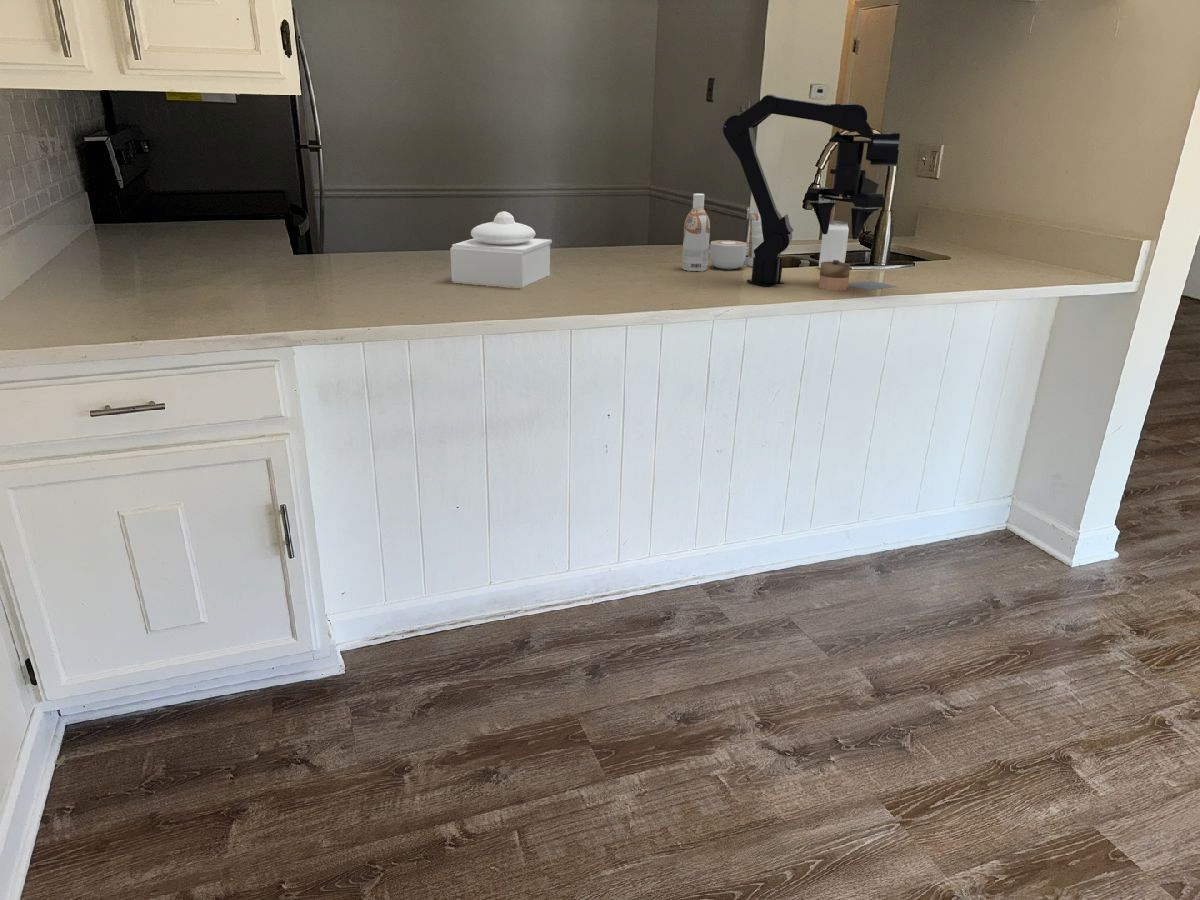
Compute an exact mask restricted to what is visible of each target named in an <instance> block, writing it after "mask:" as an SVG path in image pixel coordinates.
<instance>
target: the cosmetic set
mask: <svg viewBox="0 0 1200 900" xmlns="http://www.w3.org/2000/svg"><path fill="white" fill-rule="evenodd" d="M705 198H706V197H705V193H693V198H692V208H691V210H690V211H689V213H688V215H687V216H686V218H685V220H684V225H683V239H682V242H683V243H682V258H681V269H682V270H683V269H684V270H683V271H685V270H687V271H686V272H690V271H702V272H705V270H706V271H707V270H708V265H709V264H708V261H710V262H711V264H712V266H714V267H715V268H717V269H720V270H725V269H727V270H729V271H730V270H732V269H733V270H736V269H739V268H741V267H742V266H743V265H744V263H745V261H746V257H747V261H746V264H747V266H748V267H750V268H753V257H755V254H754V250H755V249H756V248H757V247H758V246H759V245H760V244H761V243H762V242H763V241H764V239H763V234H762V225H761V217H760V214H759V211H758V209H754V210H753V209H752V210H749V211H748V215H749V241H748V244H747V242H744V241H739V240H729V239H728V240H725V239H723V240H721V239H720V240H719V239H718V240H712V241H711V242H710V233H711V223H710V222H711V221H710V218H709V215H708V213H707V212H706V210H705V207H704V206H705ZM747 246H748V250H747ZM709 247H710V248H709ZM709 249H710V250H709ZM747 251H748V254H747Z"/></svg>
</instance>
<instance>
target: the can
mask: <svg viewBox="0 0 1200 900" xmlns="http://www.w3.org/2000/svg"><path fill="white" fill-rule="evenodd" d="M848 224H849V223H848V221H847V222H846V221H841V220H830V222H829V229H828V233H827V234H823V233H822V234H821V241H820V242H821V243H820V253H819V262H818V268H819V269H820V268H821V263H822V262H833V260H839V262H843V263H846V262H845V261H846V255H847V254H846V253H847V248H848V238H849V231H850V229H849V225H848Z"/></svg>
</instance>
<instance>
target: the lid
mask: <svg viewBox="0 0 1200 900" xmlns="http://www.w3.org/2000/svg"><path fill="white" fill-rule="evenodd" d="M819 269H820V270H819V276H820V275H821V276H824V277H831V278H847V277H849V278H850V271H851V264H850V263H847V262H845V263H843V262H839V260H833V262H822V263H821V268H819Z"/></svg>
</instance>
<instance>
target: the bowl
mask: <svg viewBox="0 0 1200 900" xmlns="http://www.w3.org/2000/svg"><path fill="white" fill-rule="evenodd" d="M818 278H819V280H818V289H821V290H827V291H836V292H837V291H847V290H848V287H849V286H848V283H849V279H850V276H849V277H847V278H831V277H824V276H821V275H820V274H819V277H818Z"/></svg>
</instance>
